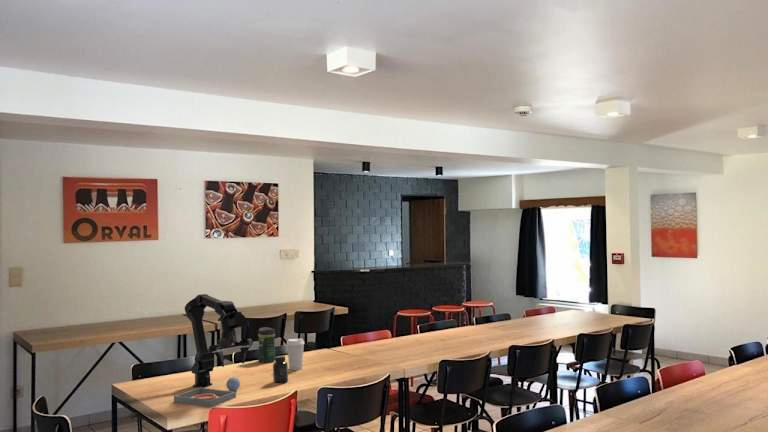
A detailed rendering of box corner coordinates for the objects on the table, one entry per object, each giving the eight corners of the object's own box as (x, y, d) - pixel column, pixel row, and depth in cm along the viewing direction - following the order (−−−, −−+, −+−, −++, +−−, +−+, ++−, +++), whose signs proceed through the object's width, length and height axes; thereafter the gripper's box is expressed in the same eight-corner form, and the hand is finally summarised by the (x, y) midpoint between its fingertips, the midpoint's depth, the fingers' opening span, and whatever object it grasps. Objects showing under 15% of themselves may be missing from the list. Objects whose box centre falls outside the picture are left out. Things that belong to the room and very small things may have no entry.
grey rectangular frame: (173, 401, 272) (173, 396, 272) (200, 393, 286) (200, 387, 286) (210, 407, 263) (210, 400, 263) (236, 397, 277) (235, 391, 277)
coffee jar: (277, 361, 352) (277, 327, 353) (264, 363, 347) (264, 329, 348) (269, 359, 360) (268, 325, 360) (256, 360, 355) (255, 327, 355)
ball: (223, 391, 288) (223, 378, 288) (232, 388, 293) (232, 375, 293) (234, 393, 285) (234, 379, 285) (242, 389, 291) (242, 376, 291)
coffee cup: (301, 371, 327) (301, 341, 328) (283, 370, 329) (283, 341, 330) (307, 367, 337) (307, 338, 337) (290, 366, 339) (289, 338, 339)
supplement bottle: (288, 380, 308) (288, 355, 308) (287, 383, 301) (286, 357, 301) (274, 380, 308) (274, 355, 308) (272, 384, 301) (272, 358, 301)
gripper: (201, 334, 280) (206, 370, 277) (242, 326, 278) (247, 363, 275) (211, 333, 291) (215, 368, 288) (250, 326, 289) (255, 361, 286)
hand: (233, 365), depth 284 cm, fingers open, 9 cm apart
